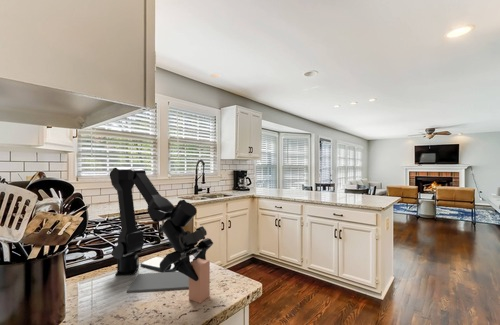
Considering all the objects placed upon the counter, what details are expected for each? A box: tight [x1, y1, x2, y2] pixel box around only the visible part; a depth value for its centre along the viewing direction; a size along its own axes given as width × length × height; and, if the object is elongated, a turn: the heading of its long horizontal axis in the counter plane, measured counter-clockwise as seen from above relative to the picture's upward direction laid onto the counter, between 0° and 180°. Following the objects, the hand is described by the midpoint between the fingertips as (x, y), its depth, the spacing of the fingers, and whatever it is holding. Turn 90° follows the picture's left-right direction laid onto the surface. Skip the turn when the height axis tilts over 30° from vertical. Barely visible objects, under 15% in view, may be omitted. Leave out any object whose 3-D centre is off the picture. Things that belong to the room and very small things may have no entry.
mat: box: [126, 271, 189, 293], centre depth 87 cm, size 22×12×1 cm, turn 98°
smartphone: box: [140, 256, 176, 273], centre depth 100 cm, size 9×2×16 cm
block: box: [188, 258, 211, 304], centre depth 76 cm, size 4×4×11 cm
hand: (202, 277), depth 76 cm, fingers closed on block, 4 cm apart
